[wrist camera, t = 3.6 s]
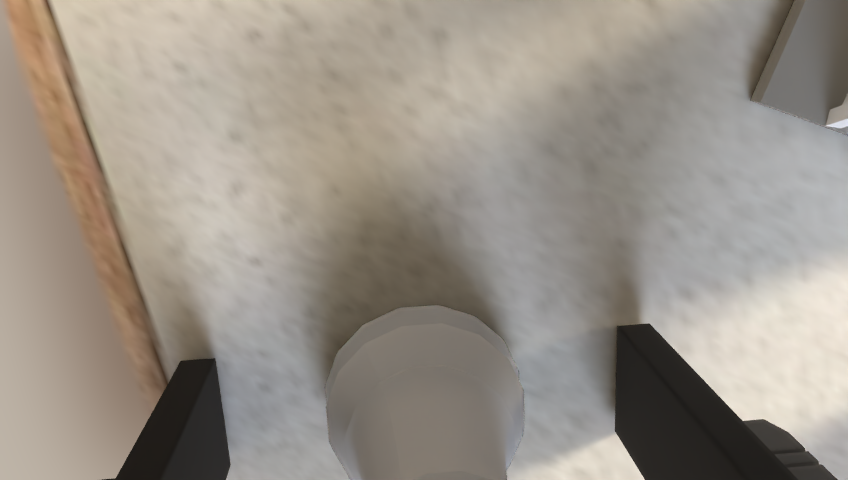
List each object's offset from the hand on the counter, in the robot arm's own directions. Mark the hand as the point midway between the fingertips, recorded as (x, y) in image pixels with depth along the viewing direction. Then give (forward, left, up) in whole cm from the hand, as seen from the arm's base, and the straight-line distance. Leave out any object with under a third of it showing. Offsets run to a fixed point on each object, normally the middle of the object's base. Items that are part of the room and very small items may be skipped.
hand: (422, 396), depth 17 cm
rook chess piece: (0, 0, 0) cm, 0 cm away
